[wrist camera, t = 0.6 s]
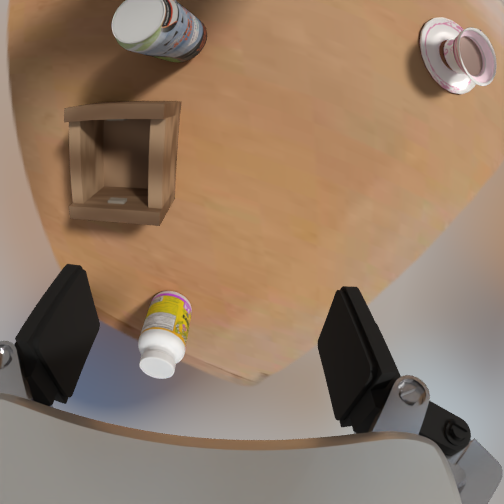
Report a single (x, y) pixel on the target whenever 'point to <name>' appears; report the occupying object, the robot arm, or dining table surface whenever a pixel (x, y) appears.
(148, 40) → the beverage can
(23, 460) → the robot arm
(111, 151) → the holder
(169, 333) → the supplement bottle
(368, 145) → the dining table surface
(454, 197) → the dining table surface
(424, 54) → the teacup
